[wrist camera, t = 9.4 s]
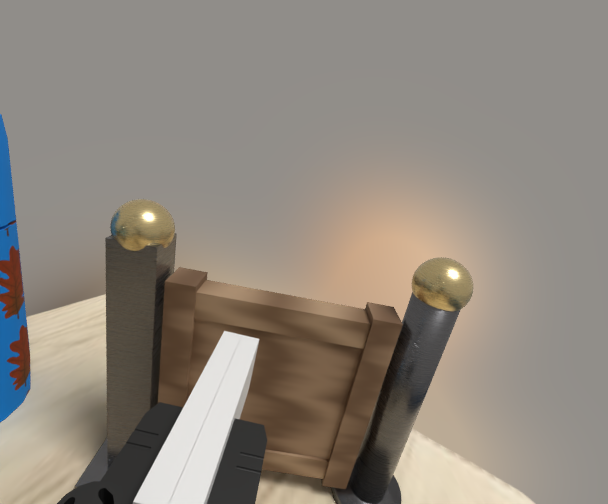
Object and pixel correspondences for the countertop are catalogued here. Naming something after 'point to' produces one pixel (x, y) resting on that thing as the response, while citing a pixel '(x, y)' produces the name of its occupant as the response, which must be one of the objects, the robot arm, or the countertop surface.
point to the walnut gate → (284, 367)
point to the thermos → (11, 297)
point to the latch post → (133, 320)
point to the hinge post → (407, 379)
